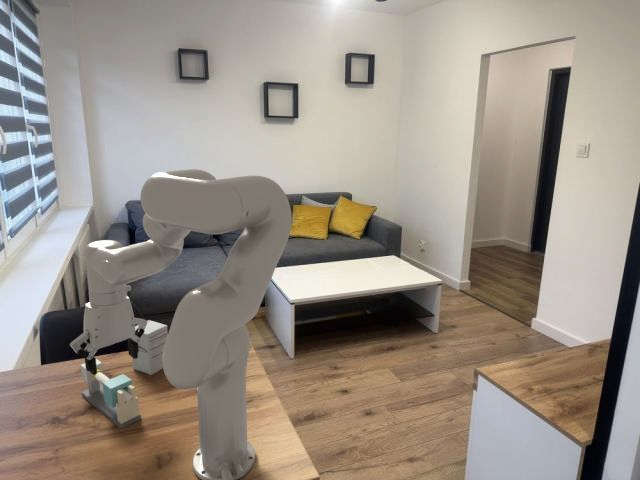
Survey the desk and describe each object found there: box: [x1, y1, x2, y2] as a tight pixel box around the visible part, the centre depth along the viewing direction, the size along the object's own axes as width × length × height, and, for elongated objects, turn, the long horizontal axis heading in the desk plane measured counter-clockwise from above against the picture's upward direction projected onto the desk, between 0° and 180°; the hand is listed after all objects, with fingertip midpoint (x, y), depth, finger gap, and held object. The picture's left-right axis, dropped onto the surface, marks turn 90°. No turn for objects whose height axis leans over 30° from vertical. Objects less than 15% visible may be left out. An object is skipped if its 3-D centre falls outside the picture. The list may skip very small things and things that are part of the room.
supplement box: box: [131, 319, 169, 376], centre depth 126 cm, size 7×7×13 cm
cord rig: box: [80, 358, 142, 429], centre depth 108 cm, size 20×5×8 cm, turn 51°
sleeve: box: [102, 373, 133, 408], centre depth 104 cm, size 4×5×5 cm
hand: (113, 364), depth 103 cm, fingers open, 9 cm apart
